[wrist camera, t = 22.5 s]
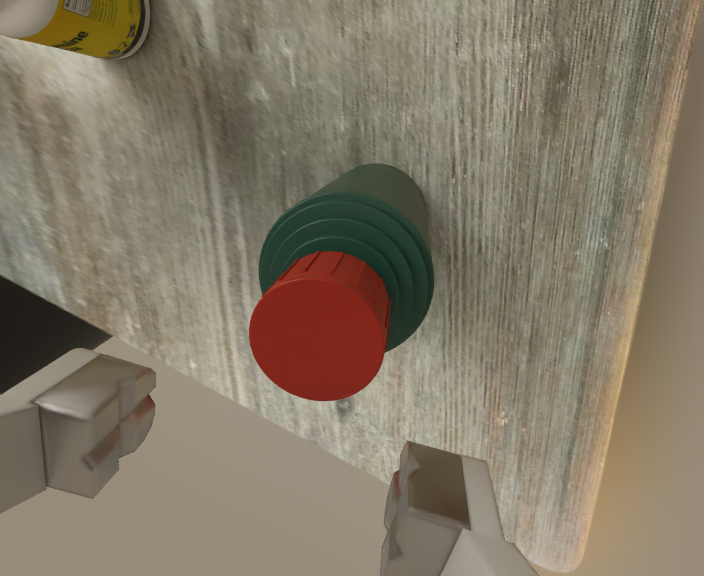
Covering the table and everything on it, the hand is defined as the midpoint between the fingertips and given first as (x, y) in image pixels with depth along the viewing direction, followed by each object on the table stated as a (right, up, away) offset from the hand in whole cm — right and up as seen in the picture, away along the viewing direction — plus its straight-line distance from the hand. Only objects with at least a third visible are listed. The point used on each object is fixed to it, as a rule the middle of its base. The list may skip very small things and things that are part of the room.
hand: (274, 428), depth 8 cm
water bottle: (+3, +8, +21) cm, 23 cm away
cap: (+1, +1, +4) cm, 4 cm away
